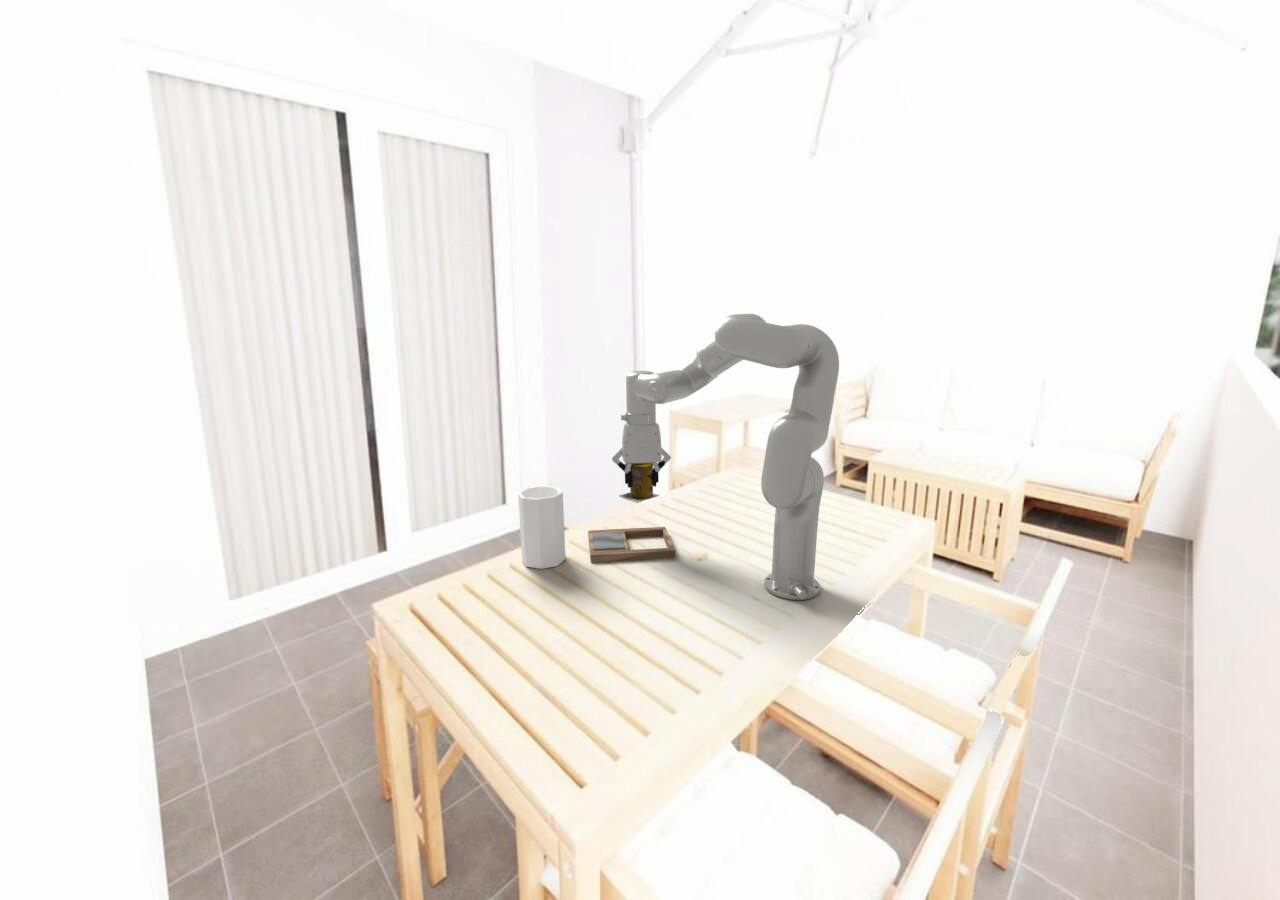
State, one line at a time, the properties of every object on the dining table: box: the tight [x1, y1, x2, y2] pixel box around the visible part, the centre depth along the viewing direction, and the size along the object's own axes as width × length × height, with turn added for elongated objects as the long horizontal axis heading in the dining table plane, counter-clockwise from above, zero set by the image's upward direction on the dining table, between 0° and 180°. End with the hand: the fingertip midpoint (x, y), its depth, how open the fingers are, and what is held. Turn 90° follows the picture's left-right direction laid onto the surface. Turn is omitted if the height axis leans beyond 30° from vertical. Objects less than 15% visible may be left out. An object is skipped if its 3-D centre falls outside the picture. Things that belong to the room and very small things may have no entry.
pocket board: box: [587, 526, 676, 563], centre depth 163 cm, size 17×22×2 cm
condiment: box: [618, 463, 660, 504], centre depth 158 cm, size 7×8×12 cm
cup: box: [517, 485, 566, 570], centre depth 153 cm, size 11×11×18 cm
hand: (641, 485), depth 159 cm, fingers closed on condiment, 6 cm apart
